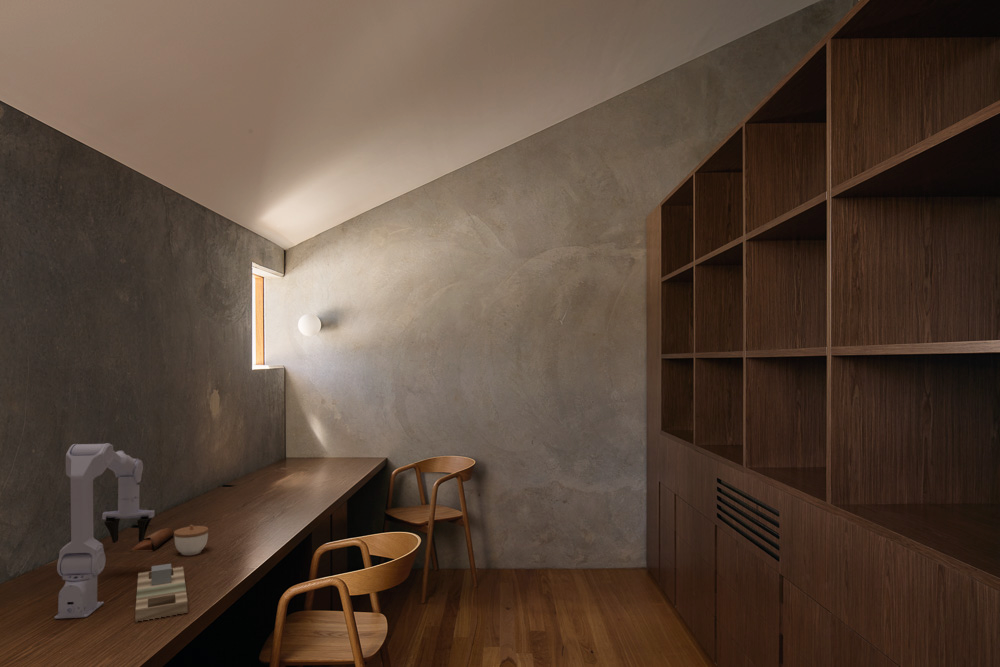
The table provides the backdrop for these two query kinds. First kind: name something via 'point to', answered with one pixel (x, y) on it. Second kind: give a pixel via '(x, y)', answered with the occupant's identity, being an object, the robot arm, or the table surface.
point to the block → (161, 574)
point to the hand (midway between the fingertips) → (128, 541)
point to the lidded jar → (191, 539)
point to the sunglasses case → (154, 540)
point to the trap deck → (161, 596)
